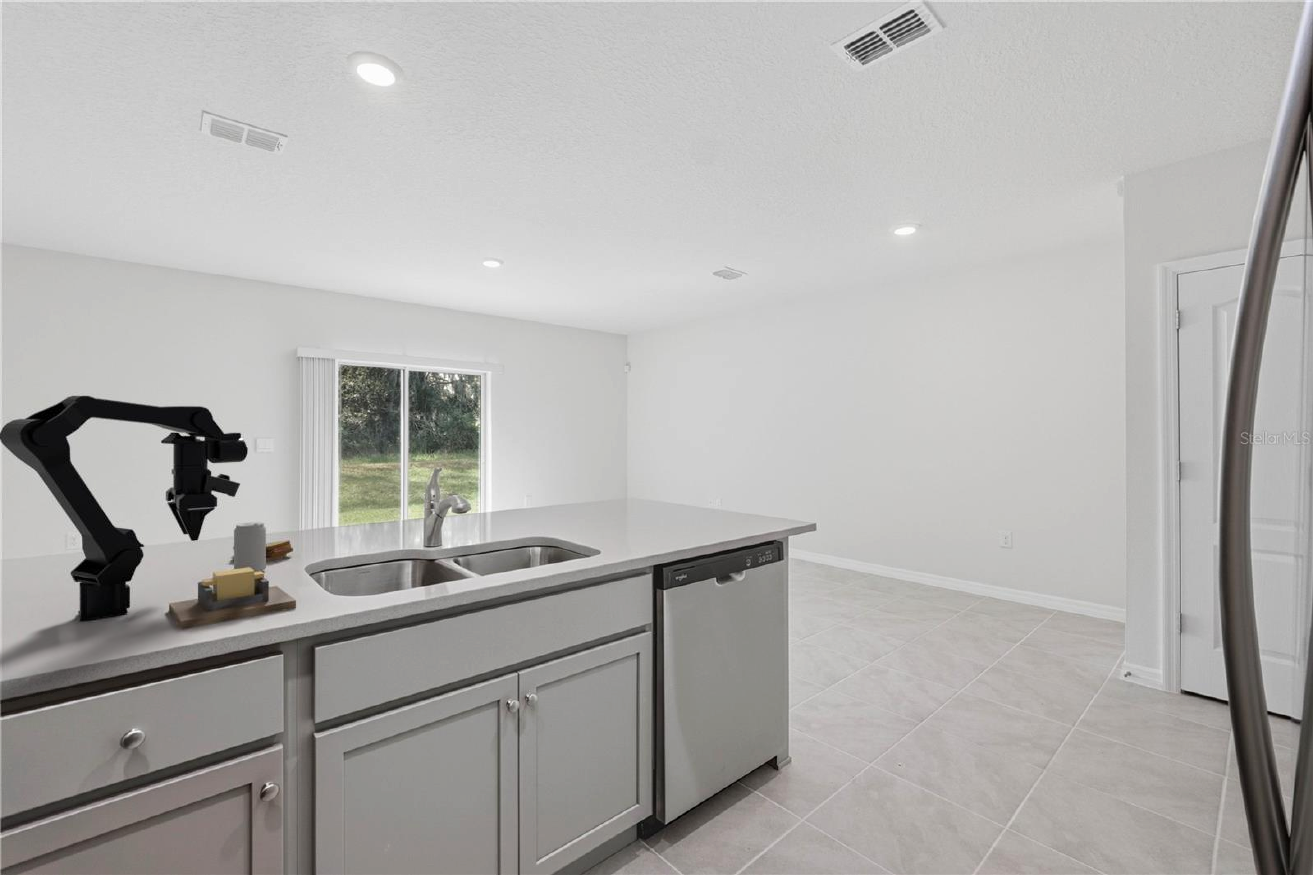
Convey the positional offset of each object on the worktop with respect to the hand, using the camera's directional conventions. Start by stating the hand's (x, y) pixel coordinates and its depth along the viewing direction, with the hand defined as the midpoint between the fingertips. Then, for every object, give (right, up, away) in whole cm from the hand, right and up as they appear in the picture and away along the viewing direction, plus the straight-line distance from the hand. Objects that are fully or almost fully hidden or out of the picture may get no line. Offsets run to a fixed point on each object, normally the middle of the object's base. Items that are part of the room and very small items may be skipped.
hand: (190, 537), depth 125 cm
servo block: (+16, -11, -10) cm, 22 cm away
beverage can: (+1, -12, +17) cm, 21 cm away
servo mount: (+16, -13, -10) cm, 23 cm away
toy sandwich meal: (-6, -12, +32) cm, 35 cm away
